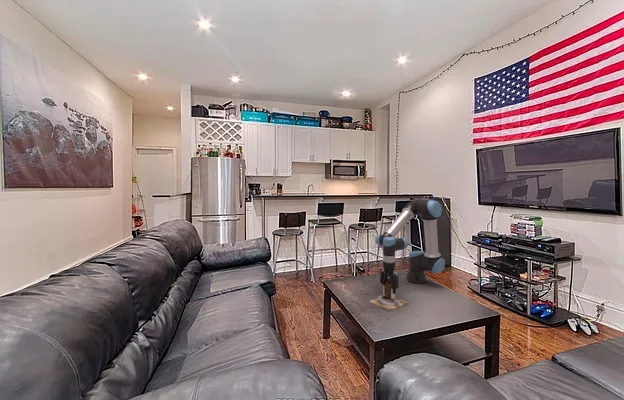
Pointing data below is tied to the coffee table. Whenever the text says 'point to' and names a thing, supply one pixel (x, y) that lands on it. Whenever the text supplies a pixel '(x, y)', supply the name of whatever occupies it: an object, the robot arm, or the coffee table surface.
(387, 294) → the condiment
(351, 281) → the coffee table surface
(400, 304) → the board
